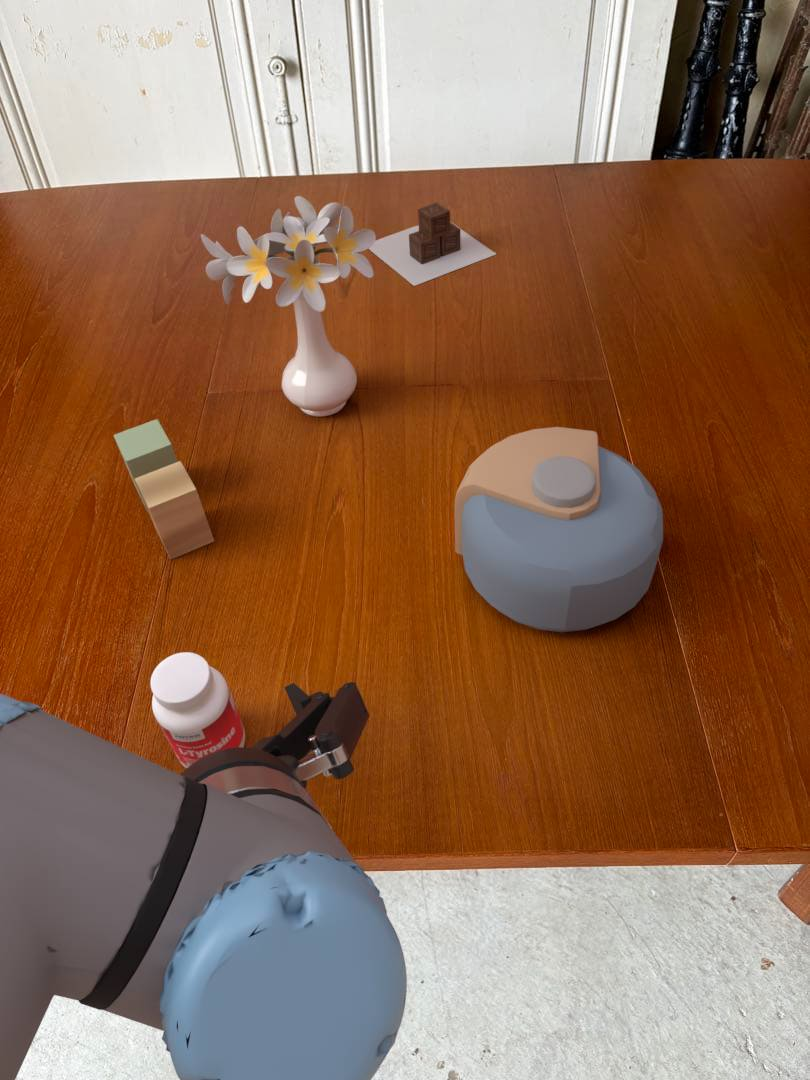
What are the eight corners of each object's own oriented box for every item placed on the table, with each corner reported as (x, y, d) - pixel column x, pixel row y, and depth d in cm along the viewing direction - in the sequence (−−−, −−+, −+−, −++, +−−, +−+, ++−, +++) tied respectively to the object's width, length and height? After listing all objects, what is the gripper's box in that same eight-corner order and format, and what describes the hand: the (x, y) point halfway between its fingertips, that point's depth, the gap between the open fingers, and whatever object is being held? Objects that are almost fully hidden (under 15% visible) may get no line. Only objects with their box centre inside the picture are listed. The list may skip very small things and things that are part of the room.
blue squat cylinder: (574, 469, 92) (585, 383, 83) (692, 591, 80) (721, 506, 71) (425, 532, 87) (420, 448, 78) (527, 672, 75) (536, 591, 66)
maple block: (214, 541, 88) (196, 489, 82) (170, 560, 87) (148, 508, 81) (199, 513, 91) (180, 460, 85) (156, 530, 90) (134, 478, 84)
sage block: (190, 496, 93) (171, 444, 87) (148, 513, 91) (126, 461, 85) (176, 471, 96) (157, 418, 90) (135, 487, 94) (113, 434, 88)
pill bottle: (185, 787, 69) (148, 723, 61) (170, 728, 73) (133, 660, 65) (255, 759, 71) (228, 692, 62) (236, 702, 74) (208, 633, 66)
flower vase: (241, 386, 106) (192, 199, 87) (379, 362, 108) (361, 173, 89) (250, 452, 97) (198, 260, 79) (400, 423, 99) (385, 229, 80)
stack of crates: (442, 216, 133) (441, 174, 128) (496, 254, 124) (498, 211, 119) (363, 244, 128) (359, 202, 123) (413, 286, 120) (411, 242, 114)
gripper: (9, 1064, 35) (59, 878, 55) (495, 786, 42) (382, 711, 62) (-68, 912, 34) (12, 780, 55) (440, 656, 41) (344, 623, 62)
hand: (210, 743), depth 59 cm, fingers open, 13 cm apart
